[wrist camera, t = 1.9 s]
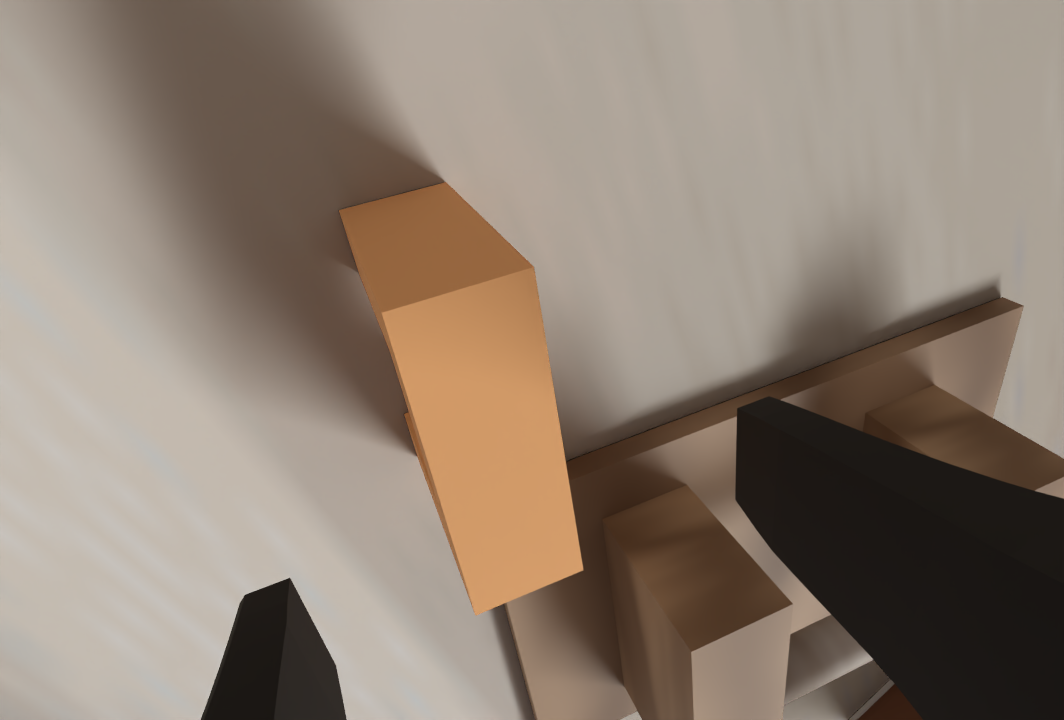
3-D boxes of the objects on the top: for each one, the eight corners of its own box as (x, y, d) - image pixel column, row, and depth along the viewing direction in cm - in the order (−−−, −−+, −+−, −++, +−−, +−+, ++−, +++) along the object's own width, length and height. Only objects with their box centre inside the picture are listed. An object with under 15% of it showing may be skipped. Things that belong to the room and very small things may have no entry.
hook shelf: (539, 735, 26) (604, 901, 21) (474, 496, 19) (549, 662, 14) (938, 546, 31) (1065, 647, 26) (1002, 297, 24) (1191, 373, 19)
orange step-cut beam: (417, 457, 18) (475, 615, 13) (338, 210, 14) (382, 313, 10) (501, 428, 18) (583, 570, 14) (445, 182, 15) (533, 266, 10)
